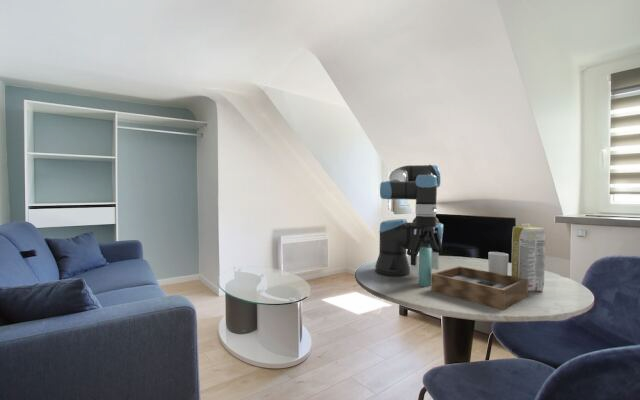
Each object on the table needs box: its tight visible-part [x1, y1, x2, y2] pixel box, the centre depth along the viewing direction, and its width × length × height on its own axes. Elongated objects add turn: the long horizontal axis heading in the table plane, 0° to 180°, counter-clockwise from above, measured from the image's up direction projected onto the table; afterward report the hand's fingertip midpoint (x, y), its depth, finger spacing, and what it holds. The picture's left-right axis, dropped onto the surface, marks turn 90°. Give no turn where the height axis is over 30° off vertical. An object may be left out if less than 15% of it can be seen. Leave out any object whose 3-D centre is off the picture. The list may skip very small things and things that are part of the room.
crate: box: [430, 265, 529, 311], centre depth 110 cm, size 24×20×6 cm
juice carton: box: [510, 223, 546, 292], centre depth 116 cm, size 9×8×24 cm
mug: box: [487, 251, 509, 275], centre depth 123 cm, size 10×7×12 cm, turn 170°
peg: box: [418, 247, 433, 288], centre depth 120 cm, size 4×4×14 cm
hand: (425, 271), depth 120 cm, fingers open, 13 cm apart
